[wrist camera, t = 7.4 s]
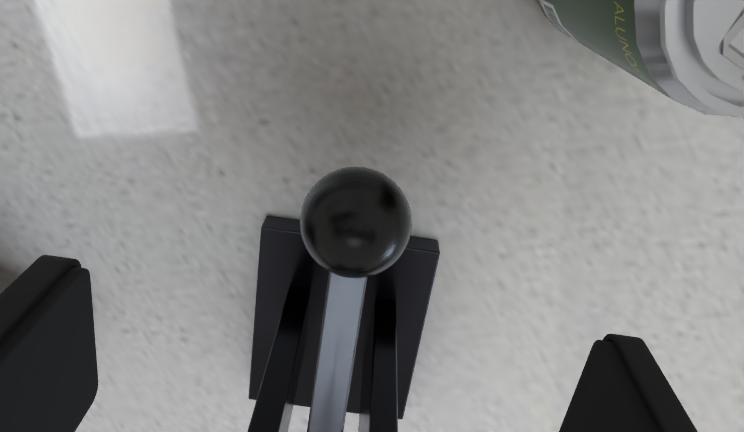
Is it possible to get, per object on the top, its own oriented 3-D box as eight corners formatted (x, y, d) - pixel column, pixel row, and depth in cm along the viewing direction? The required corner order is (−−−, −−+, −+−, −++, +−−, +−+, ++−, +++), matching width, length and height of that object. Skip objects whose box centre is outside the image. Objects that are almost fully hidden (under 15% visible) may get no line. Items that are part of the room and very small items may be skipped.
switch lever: (313, 150, 18) (300, 170, 15) (416, 166, 18) (424, 188, 15) (268, 504, 22) (251, 578, 19) (356, 514, 22) (353, 591, 19)
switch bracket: (266, 215, 28) (175, 422, 16) (438, 239, 28) (471, 461, 16) (253, 383, 32) (174, 642, 20) (402, 403, 32) (407, 669, 21)
